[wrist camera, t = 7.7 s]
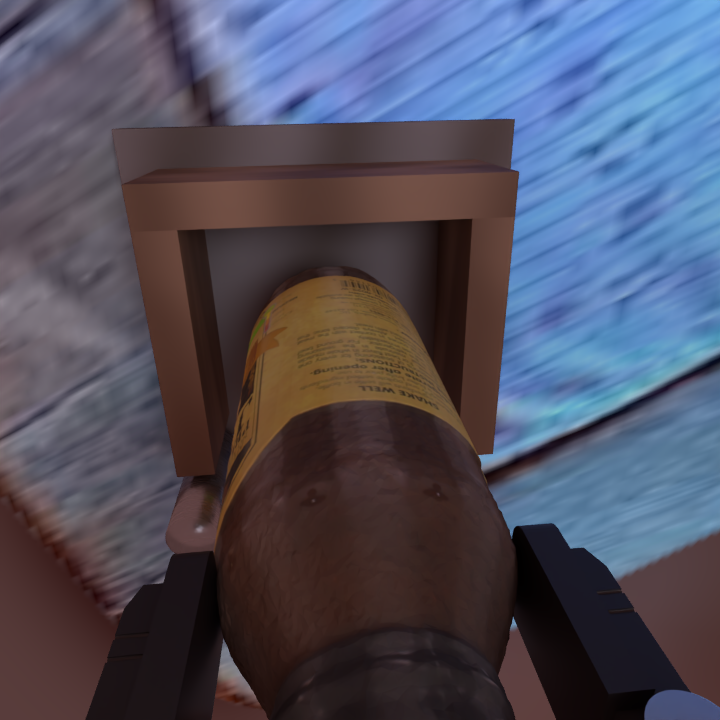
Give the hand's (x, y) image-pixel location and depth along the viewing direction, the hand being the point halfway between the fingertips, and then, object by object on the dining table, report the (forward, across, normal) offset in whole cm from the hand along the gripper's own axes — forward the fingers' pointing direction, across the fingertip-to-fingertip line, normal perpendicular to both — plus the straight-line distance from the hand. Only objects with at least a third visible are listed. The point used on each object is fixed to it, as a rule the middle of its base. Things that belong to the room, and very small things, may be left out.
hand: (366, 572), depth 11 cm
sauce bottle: (+13, 0, 0) cm, 13 cm away
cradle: (+17, 0, 0) cm, 17 cm away
